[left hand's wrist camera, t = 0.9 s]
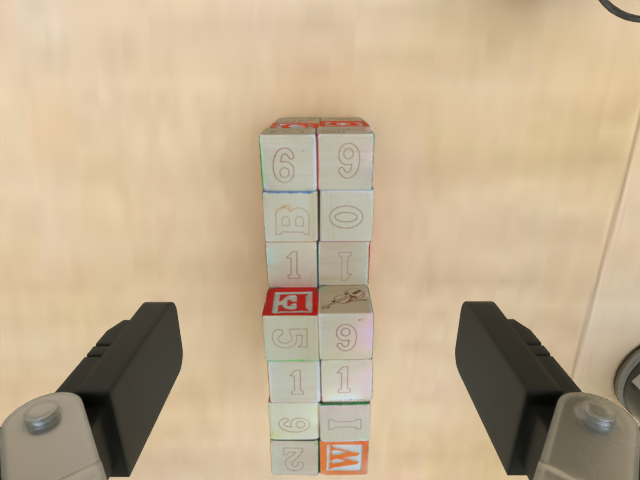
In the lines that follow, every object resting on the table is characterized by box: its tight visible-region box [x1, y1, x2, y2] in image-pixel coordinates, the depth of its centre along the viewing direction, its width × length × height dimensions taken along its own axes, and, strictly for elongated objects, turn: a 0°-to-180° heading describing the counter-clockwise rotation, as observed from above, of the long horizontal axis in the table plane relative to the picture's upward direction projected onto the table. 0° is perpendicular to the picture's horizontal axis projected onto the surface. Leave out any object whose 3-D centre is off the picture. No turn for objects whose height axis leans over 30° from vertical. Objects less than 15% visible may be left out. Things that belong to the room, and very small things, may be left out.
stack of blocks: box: [259, 118, 374, 476], centre depth 28 cm, size 21×6×12 cm, turn 0°
